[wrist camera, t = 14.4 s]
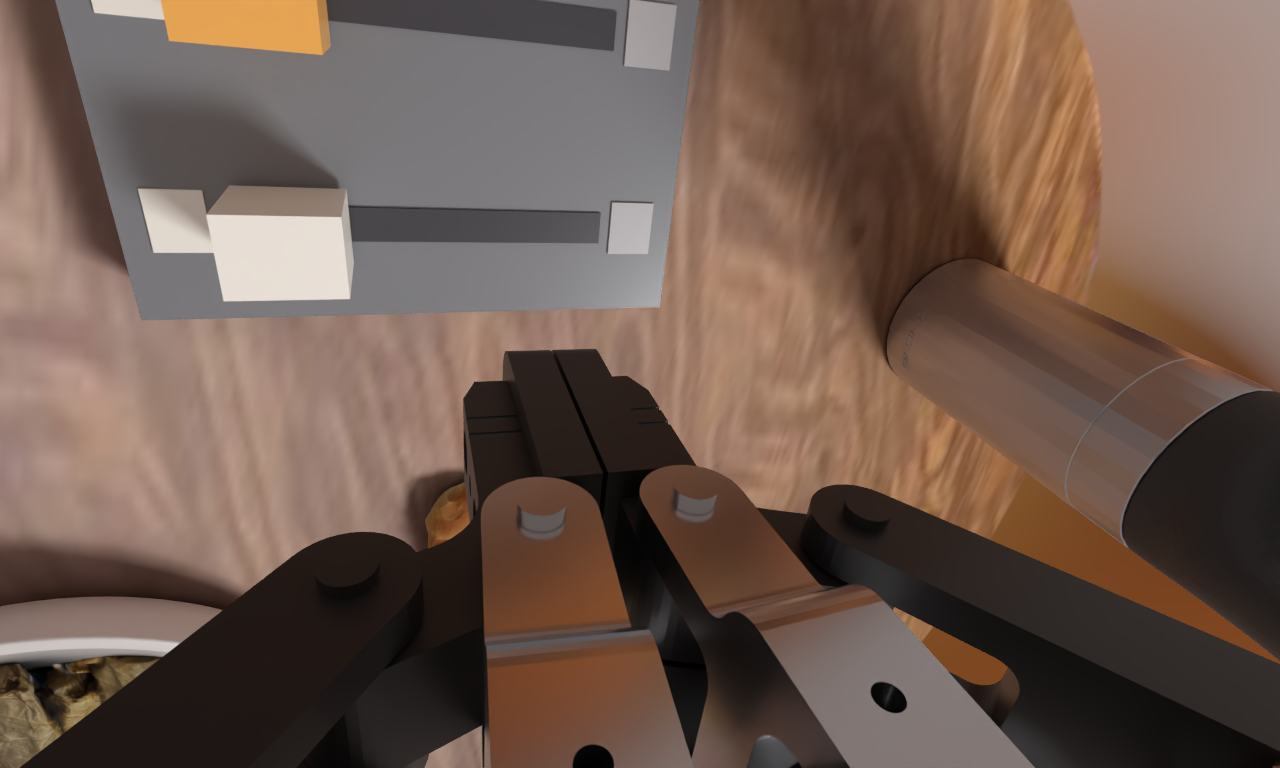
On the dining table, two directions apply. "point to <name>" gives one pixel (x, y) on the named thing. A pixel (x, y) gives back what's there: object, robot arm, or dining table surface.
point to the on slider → (282, 243)
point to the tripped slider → (250, 24)
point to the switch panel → (402, 148)
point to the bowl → (77, 660)
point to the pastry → (447, 515)
